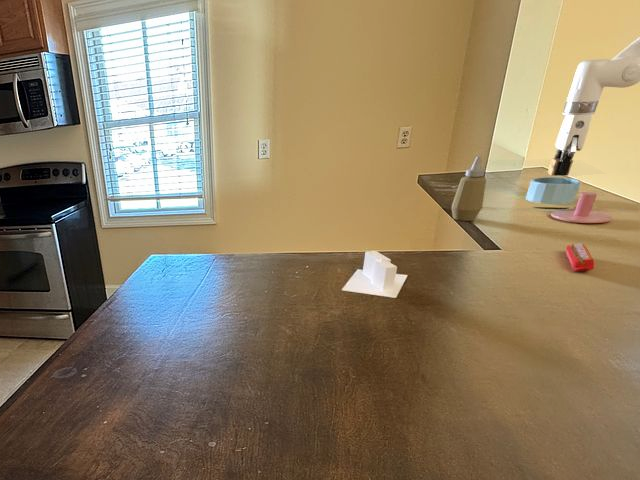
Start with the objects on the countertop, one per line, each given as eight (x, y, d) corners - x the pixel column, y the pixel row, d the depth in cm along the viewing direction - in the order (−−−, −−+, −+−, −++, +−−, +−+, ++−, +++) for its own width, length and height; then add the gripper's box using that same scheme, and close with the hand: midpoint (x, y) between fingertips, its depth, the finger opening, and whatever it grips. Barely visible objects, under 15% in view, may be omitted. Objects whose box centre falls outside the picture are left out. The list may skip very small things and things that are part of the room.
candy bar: (562, 252, 117) (566, 240, 115) (581, 253, 115) (586, 241, 113) (571, 273, 105) (576, 260, 103) (593, 275, 103) (598, 262, 102)
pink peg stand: (601, 214, 142) (611, 188, 139) (618, 226, 131) (629, 199, 128) (545, 212, 147) (553, 188, 144) (557, 224, 136) (566, 198, 133)
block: (564, 173, 151) (569, 158, 149) (568, 175, 148) (573, 160, 146) (547, 173, 153) (552, 158, 151) (550, 175, 149) (555, 160, 147)
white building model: (356, 269, 116) (360, 245, 113) (407, 274, 110) (412, 250, 108) (341, 290, 105) (344, 265, 102) (396, 298, 100) (402, 272, 97)
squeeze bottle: (443, 216, 151) (457, 155, 142) (470, 215, 151) (485, 153, 142) (456, 223, 144) (472, 159, 135) (484, 221, 144) (501, 157, 135)
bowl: (566, 201, 158) (574, 177, 154) (577, 209, 148) (587, 184, 144) (520, 200, 162) (527, 177, 158) (528, 208, 152) (536, 184, 149)
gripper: (605, 110, 133) (580, 178, 142) (586, 106, 146) (565, 169, 155) (572, 111, 136) (550, 178, 145) (556, 107, 149) (537, 169, 158)
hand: (558, 173), depth 150 cm, fingers closed on block, 4 cm apart
